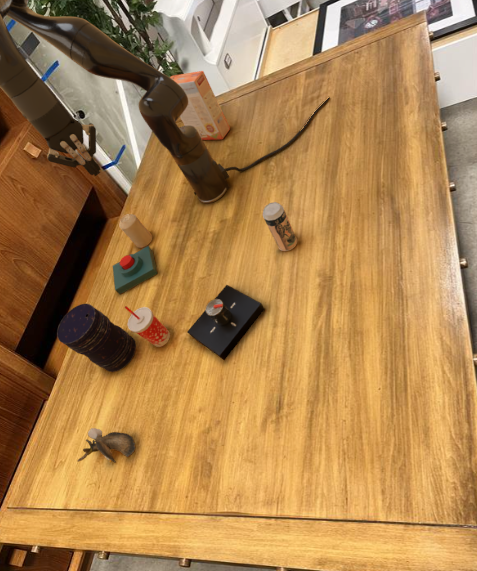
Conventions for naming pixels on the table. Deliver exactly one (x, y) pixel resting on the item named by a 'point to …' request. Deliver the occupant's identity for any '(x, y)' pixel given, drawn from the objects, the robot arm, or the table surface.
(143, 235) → the candle
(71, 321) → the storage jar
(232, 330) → the control panel
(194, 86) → the cracker box
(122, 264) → the button
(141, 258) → the button block
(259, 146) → the table surface
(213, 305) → the dial
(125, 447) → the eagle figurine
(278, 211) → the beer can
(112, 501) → the table surface
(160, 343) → the beverage cup
